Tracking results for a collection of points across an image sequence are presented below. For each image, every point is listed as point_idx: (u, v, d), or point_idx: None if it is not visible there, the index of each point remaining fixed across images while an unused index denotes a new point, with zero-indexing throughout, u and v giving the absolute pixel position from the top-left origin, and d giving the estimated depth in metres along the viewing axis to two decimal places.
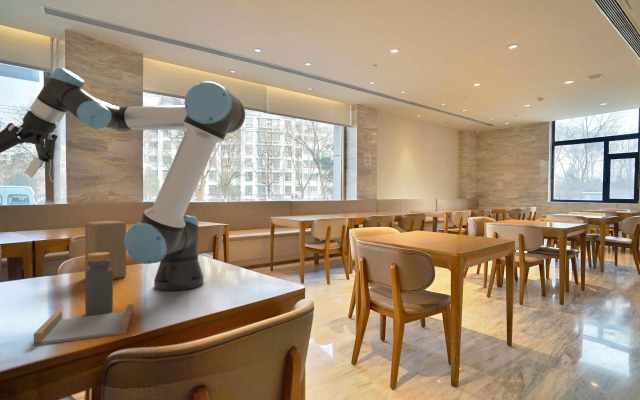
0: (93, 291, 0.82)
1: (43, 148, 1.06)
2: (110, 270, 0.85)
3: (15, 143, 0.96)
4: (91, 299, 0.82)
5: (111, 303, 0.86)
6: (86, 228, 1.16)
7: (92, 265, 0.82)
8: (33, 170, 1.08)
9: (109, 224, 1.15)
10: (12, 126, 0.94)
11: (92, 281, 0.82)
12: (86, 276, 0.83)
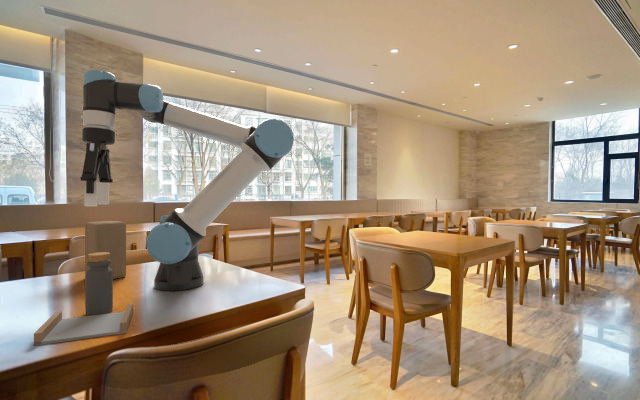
0: (93, 291, 0.82)
1: (107, 167, 0.98)
2: (110, 270, 0.85)
3: (99, 163, 0.89)
4: (91, 299, 0.82)
5: (111, 303, 0.86)
6: (86, 228, 1.16)
7: (92, 265, 0.82)
8: (107, 196, 0.99)
9: (109, 224, 1.15)
10: (92, 144, 0.86)
11: (92, 281, 0.82)
12: (86, 276, 0.83)
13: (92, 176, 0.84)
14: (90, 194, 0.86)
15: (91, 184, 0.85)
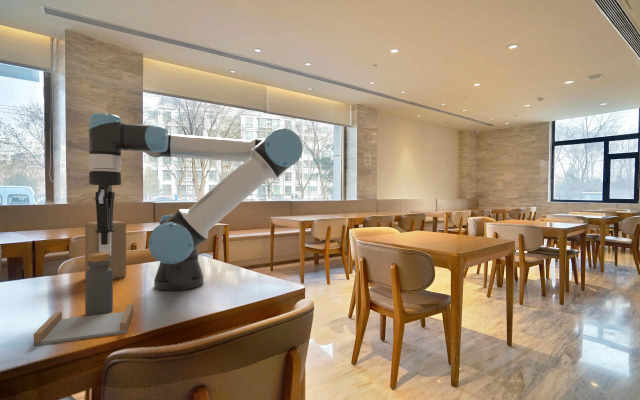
0: (93, 291, 0.82)
1: (111, 212, 0.95)
2: (110, 270, 0.85)
3: (109, 210, 0.92)
4: (91, 299, 0.82)
5: (111, 303, 0.86)
6: (86, 228, 1.16)
7: (92, 265, 0.82)
8: None
9: None
10: (101, 199, 0.87)
11: (92, 281, 0.82)
12: (86, 276, 0.83)
13: (107, 230, 0.90)
14: (104, 245, 0.92)
15: (105, 236, 0.91)
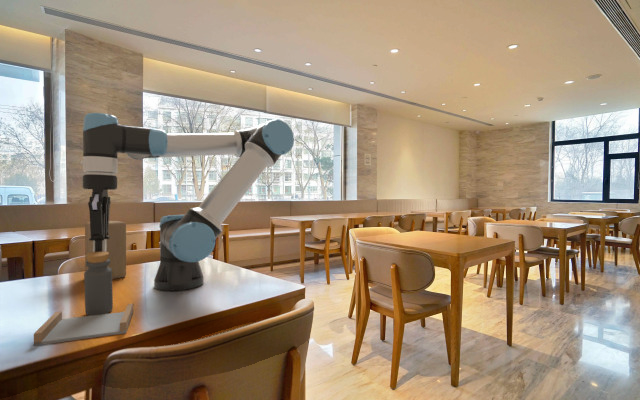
0: (92, 292, 0.82)
1: (106, 219, 0.89)
2: (109, 270, 0.84)
3: (104, 217, 0.86)
4: (90, 299, 0.82)
5: (111, 302, 0.85)
6: (86, 228, 1.16)
7: (91, 266, 0.81)
8: None
9: (109, 224, 1.15)
10: (94, 205, 0.81)
11: (91, 282, 0.81)
12: (85, 276, 0.82)
13: (101, 238, 0.84)
14: None
15: (100, 244, 0.86)
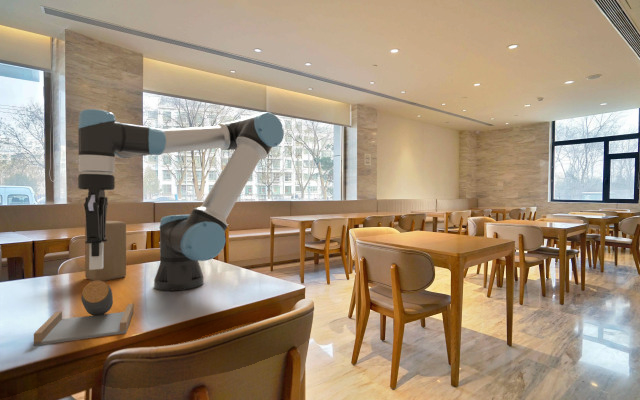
0: (91, 311, 0.77)
1: (103, 220, 0.85)
2: (109, 298, 0.76)
3: (101, 218, 0.82)
4: (90, 312, 0.79)
5: (111, 305, 0.83)
6: None
7: (88, 304, 0.73)
8: None
9: (109, 224, 1.15)
10: (91, 206, 0.77)
11: (90, 309, 0.75)
12: (83, 303, 0.74)
13: (98, 240, 0.80)
14: (95, 256, 0.82)
15: (96, 247, 0.81)
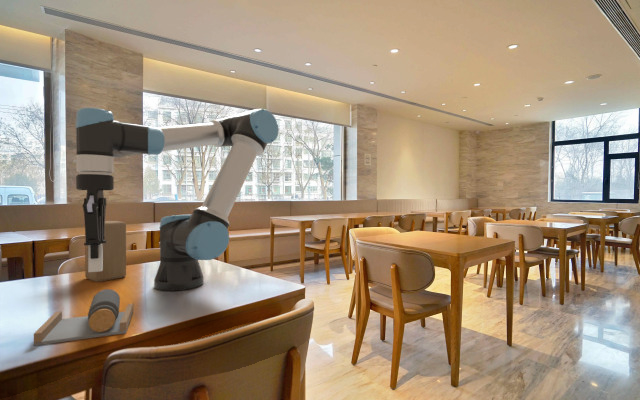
0: None
1: (102, 221, 0.83)
2: None
3: (100, 219, 0.80)
4: None
5: None
6: None
7: None
8: None
9: (109, 224, 1.15)
10: (90, 207, 0.75)
11: None
12: (88, 315, 0.73)
13: (97, 242, 0.78)
14: (94, 259, 0.81)
15: (95, 249, 0.80)
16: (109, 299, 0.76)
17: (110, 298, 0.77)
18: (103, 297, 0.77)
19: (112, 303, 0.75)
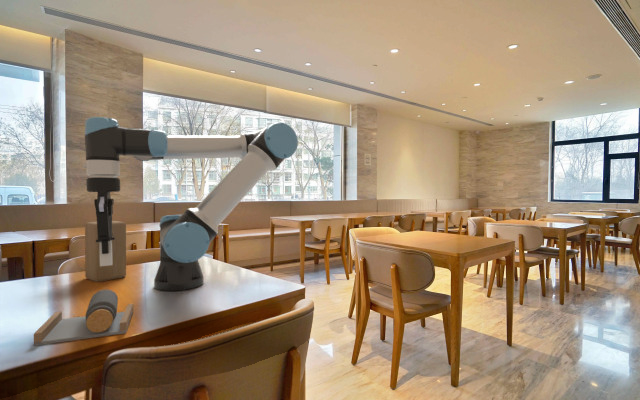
0: None
1: (110, 220, 0.91)
2: None
3: (109, 218, 0.89)
4: None
5: None
6: (86, 228, 1.16)
7: None
8: None
9: None
10: (101, 207, 0.84)
11: None
12: (86, 317, 0.73)
13: (108, 239, 0.87)
14: (105, 254, 0.89)
15: (106, 245, 0.88)
16: (105, 299, 0.76)
17: (106, 298, 0.76)
18: (99, 298, 0.76)
19: (108, 303, 0.75)
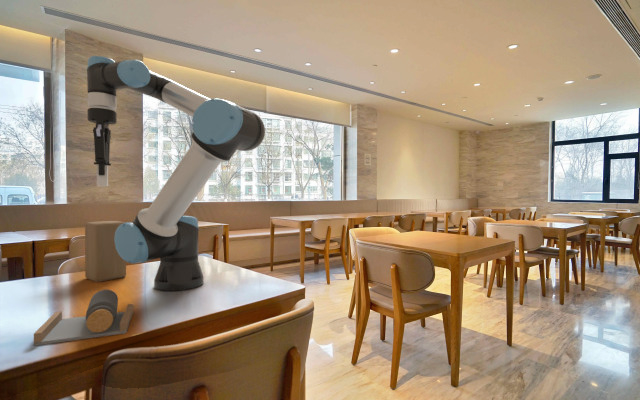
0: None
1: (107, 148, 1.05)
2: None
3: (106, 145, 1.03)
4: None
5: None
6: (86, 228, 1.16)
7: None
8: None
9: (109, 224, 1.15)
10: (98, 131, 0.98)
11: None
12: (86, 317, 0.73)
13: (104, 161, 1.01)
14: (101, 176, 1.03)
15: (102, 167, 1.02)
16: (106, 299, 0.76)
17: (106, 298, 0.76)
18: (99, 298, 0.76)
19: (108, 303, 0.75)
